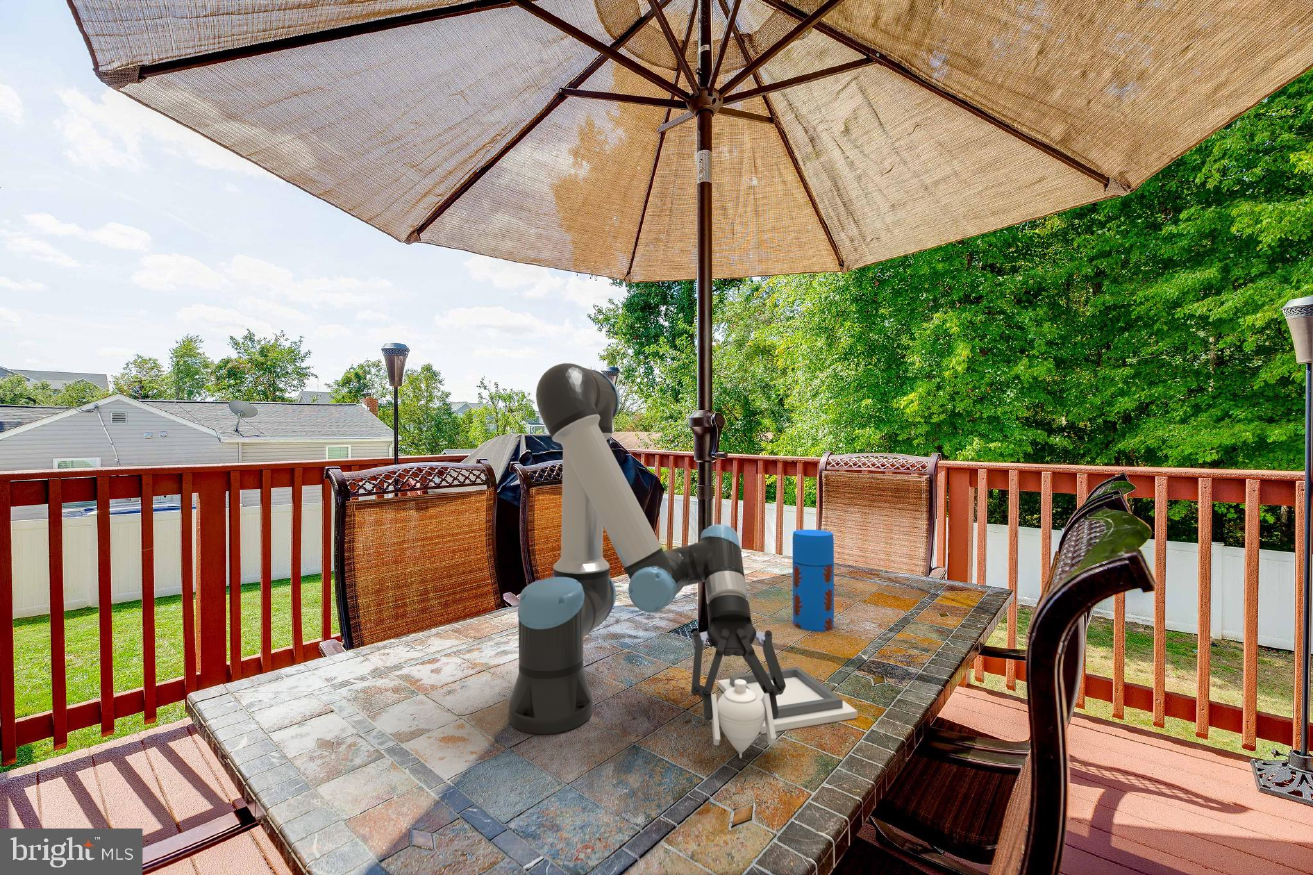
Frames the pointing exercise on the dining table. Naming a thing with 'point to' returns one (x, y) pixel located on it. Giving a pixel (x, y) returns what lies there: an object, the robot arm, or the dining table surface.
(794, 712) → the dock plate
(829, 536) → the thermos
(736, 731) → the spinning top
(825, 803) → the dining table surface
